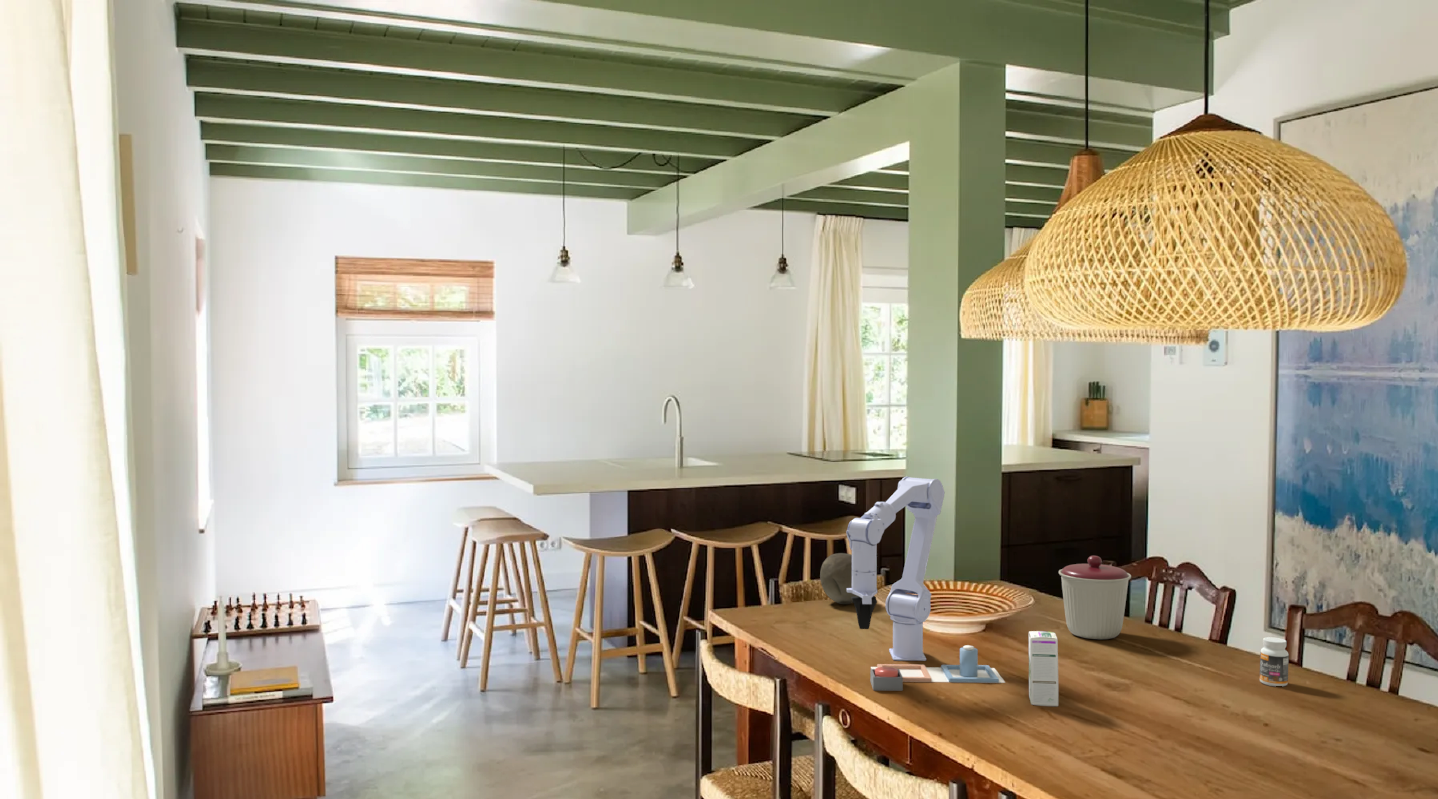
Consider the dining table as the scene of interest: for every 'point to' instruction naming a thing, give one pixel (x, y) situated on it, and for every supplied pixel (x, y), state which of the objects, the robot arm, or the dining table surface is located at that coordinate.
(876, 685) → the button base
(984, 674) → the sheet
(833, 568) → the grey boulder
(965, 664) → the blue cylinder
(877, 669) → the button
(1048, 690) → the syrup box
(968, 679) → the region blue
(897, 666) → the region terracotta
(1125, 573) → the canister
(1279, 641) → the pill bottle
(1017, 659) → the dining table surface
